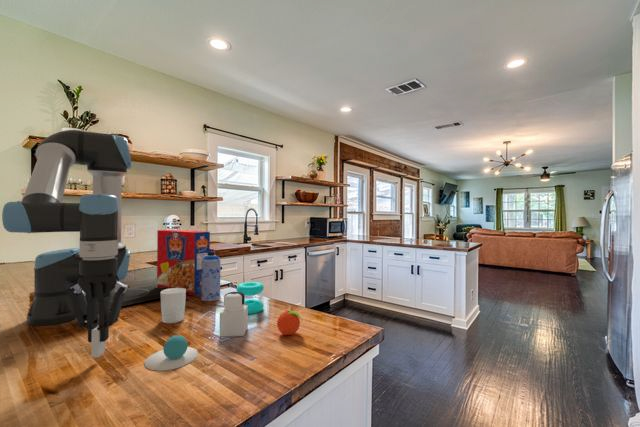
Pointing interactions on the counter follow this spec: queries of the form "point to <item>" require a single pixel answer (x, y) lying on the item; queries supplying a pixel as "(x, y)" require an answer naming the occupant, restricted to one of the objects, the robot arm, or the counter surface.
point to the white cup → (173, 304)
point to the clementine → (288, 322)
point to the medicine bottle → (234, 315)
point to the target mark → (170, 360)
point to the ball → (175, 347)
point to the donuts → (251, 289)
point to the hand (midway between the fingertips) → (98, 354)
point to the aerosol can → (210, 277)
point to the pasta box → (181, 259)
